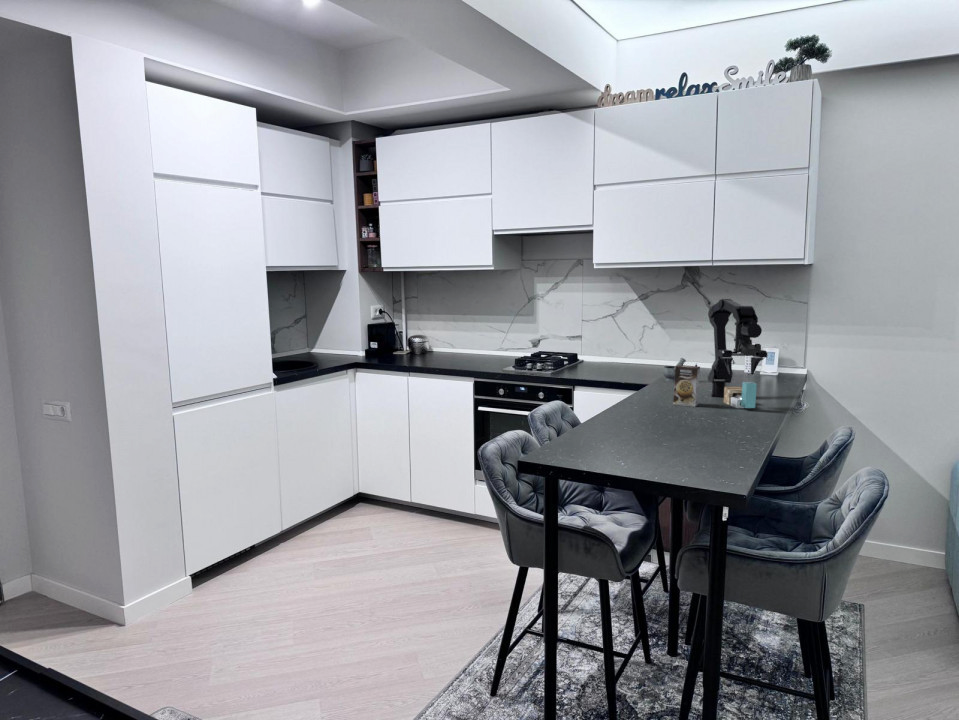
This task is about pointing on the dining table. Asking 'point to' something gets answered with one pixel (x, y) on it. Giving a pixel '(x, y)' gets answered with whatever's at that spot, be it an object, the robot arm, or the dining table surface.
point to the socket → (731, 393)
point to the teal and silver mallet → (747, 395)
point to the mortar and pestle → (671, 371)
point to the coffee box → (686, 385)
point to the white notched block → (735, 402)
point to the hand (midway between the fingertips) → (741, 374)
